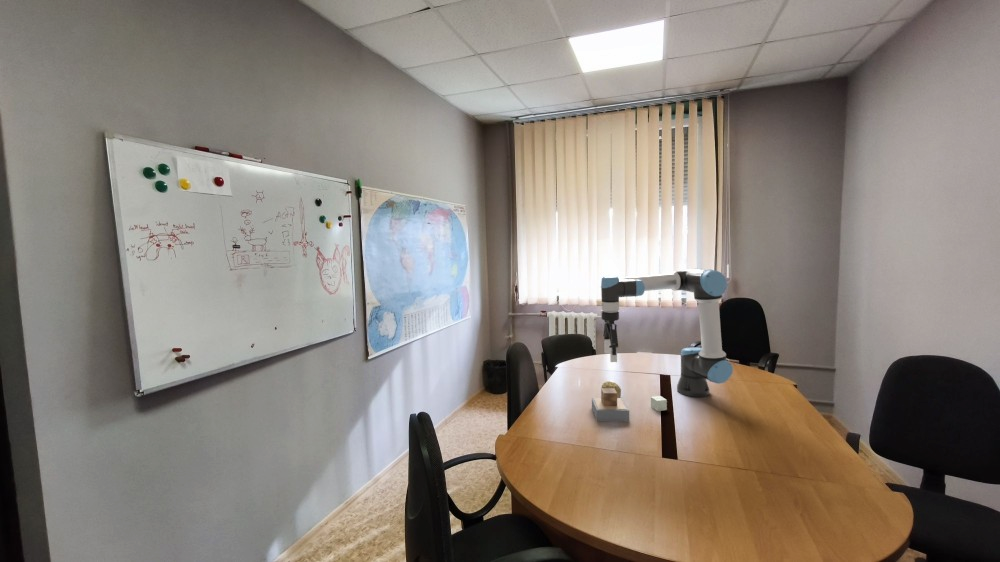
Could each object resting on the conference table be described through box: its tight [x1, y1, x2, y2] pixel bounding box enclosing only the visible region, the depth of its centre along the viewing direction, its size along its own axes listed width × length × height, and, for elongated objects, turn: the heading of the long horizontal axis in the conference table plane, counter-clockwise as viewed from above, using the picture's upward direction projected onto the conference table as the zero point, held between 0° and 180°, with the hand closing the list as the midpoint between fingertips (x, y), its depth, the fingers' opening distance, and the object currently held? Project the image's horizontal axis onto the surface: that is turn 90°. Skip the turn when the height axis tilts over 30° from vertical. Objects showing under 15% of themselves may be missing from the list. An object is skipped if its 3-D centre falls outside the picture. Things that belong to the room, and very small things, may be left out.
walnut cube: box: [600, 387, 617, 406], centre depth 177 cm, size 6×6×6 cm
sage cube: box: [650, 395, 668, 412], centre depth 182 cm, size 5×5×5 cm
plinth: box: [591, 397, 630, 422], centre depth 177 cm, size 14×14×5 cm
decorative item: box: [601, 381, 622, 398], centre depth 198 cm, size 10×10×10 cm
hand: (610, 357), depth 175 cm, fingers open, 13 cm apart
